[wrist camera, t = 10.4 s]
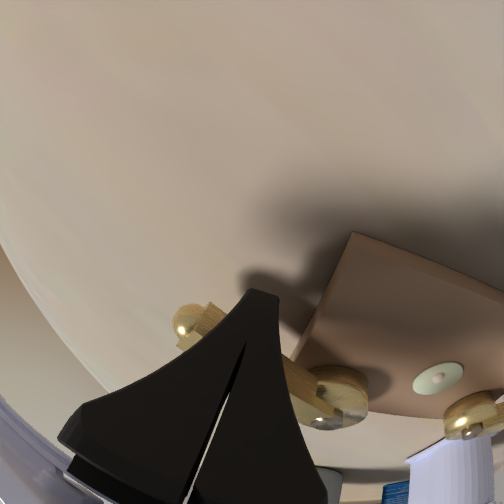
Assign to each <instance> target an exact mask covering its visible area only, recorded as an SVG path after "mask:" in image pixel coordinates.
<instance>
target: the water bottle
mask: <svg viewBox="0 0 504 504" xmlns="http://www.w3.org/2000/svg"><path fill="white" fill-rule="evenodd" d="M316 469H317V471H318V473H319V475H320V477H321V479H322V481H323V483H324V485H325V487H326V489H327V491H328V504H339V500H340V495H341V489H342V483H343V477H342V475H341V474H340V473H338V472H336V471H334V470H331V469H327V468H321V467H316Z"/></svg>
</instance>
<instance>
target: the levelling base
mask: <svg viewBox="0 0 504 504" xmlns="http://www.w3.org/2000/svg"><path fill="white" fill-rule="evenodd" d="M290 360H292V361H293V362H295V363H296V364H298V365H299V366H301V367H302V368H304V369H305V370H308V369H311V368H314V367H319V366H343V367H348V368H351V369H354V370H357V371H359V372H360V373H362V374H363V375H364V376H365V377H366V378H367V380H368V411H371V412H377V413H384V414H391V415H399V416H408V417H418V418H430V419H443V414H444V412H445V411H446V410H447V409H448V408H449V407H450V406H452V405H453V404H455V403H456V402H458V401H460V400H461V399H463V398H465V397H468V396H470V395H473V394H476V393H479V392H486V391H488V392H492V393H493V395H494V399H495V401H496V400H497V399H498V398H500V397H501V396H502V395H503V394H504V292H502V291H500V290H498V289H496V288H494V287H491V286H489V285H487V284H485V283H482V282H480V281H478V280H476V279H473V278H471V277H469V276H466V275H464V274H462V273H459V272H457V271H455V270H452V269H450V268H448V267H445V266H443V265H440V264H438V263H435V262H433V261H430V260H428V259H425V258H423V257H420V256H418V255H415V254H413V253H410V252H408V251H405V250H402V249H400V248H397V247H394V246H392V245H389V244H386V243H384V242H381V241H378V240H376V239H373V238H370V237H367V236H365V235H362V234H359V233H356V232H353V231H352V233H351V236H350V238H349V240H348V243H347V245H346V247H345V249H344V252H343V254H342V256H341V258H340V260H339V263H338V265H337V267H336V269H335V271H334V273H333V276H332V278H331V280H330V282H329V284H328V286H327V288H326V290H325V292H324V294H323V296H322V298H321V300H320V302H319V304H318V306H317V308H316V310H315V312H314V314H313V316H312V318H311V320H310V322H309V324H308V326H307V328H306V329H305V331H304V333H303V335H302V337H301V339H300V341H299V342H298V344H297V346H296V348H295V350H294V352H293V353H292V355H291V357H290Z"/></svg>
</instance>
